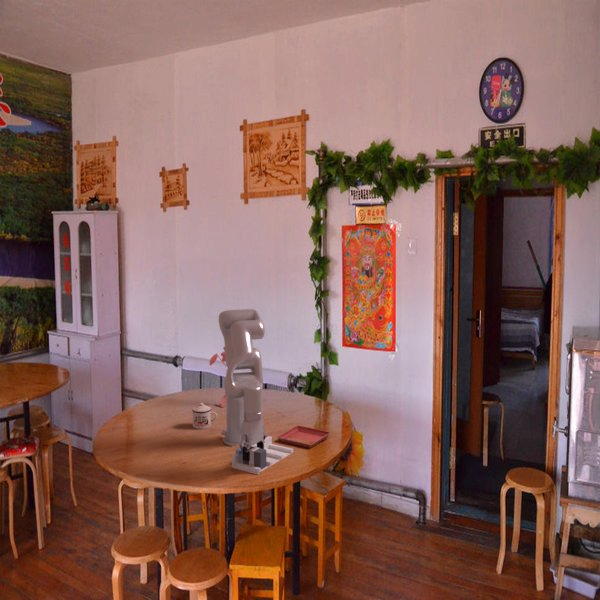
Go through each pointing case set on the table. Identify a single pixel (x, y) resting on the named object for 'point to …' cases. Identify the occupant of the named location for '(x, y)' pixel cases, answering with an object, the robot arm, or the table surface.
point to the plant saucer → (303, 436)
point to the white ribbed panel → (272, 456)
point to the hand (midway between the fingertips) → (253, 456)
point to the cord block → (256, 457)
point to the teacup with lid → (202, 416)
